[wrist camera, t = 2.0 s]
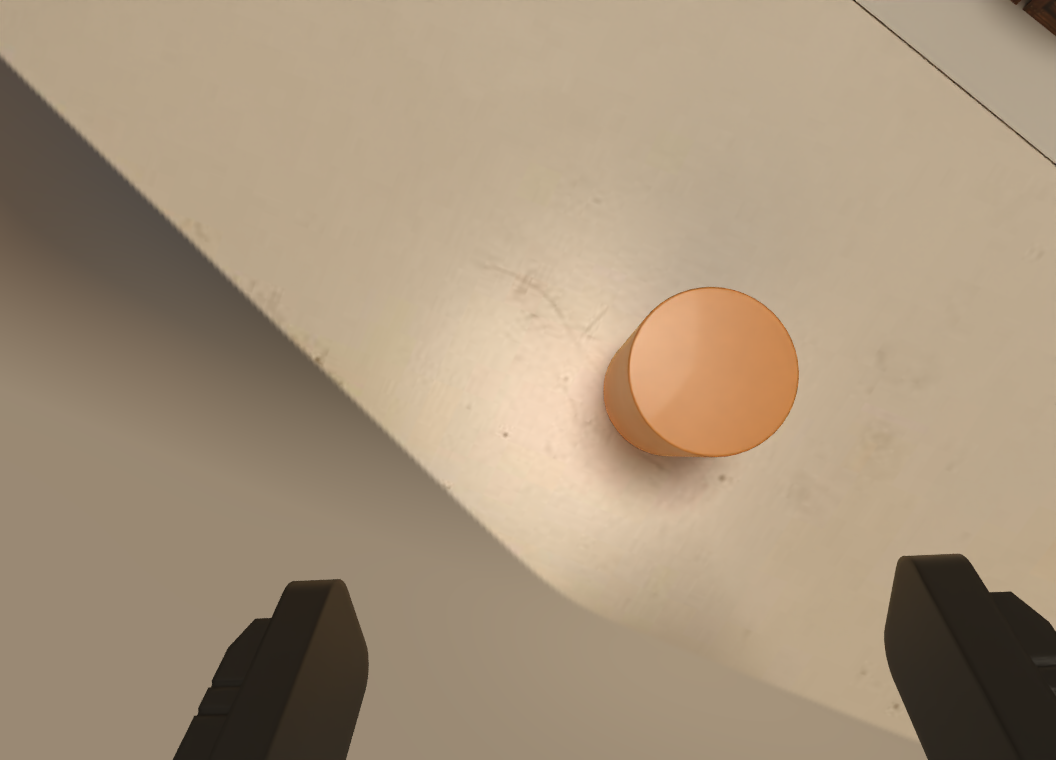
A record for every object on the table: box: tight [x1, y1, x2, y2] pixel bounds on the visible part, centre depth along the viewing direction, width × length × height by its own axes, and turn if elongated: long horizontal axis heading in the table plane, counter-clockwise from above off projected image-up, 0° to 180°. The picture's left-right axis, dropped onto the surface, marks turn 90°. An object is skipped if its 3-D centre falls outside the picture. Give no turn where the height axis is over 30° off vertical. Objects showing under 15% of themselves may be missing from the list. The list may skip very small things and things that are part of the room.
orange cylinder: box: [603, 287, 799, 457], centre depth 26 cm, size 5×5×8 cm
